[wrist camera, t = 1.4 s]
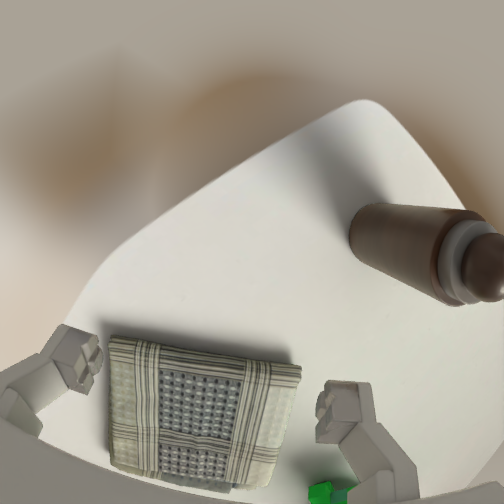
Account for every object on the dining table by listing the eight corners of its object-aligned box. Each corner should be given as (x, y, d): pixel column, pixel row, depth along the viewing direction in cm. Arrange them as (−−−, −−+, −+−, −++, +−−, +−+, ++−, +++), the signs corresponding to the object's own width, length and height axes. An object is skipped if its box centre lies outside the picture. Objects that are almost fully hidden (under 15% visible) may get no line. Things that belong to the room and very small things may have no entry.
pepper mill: (336, 227, 26) (464, 266, 11) (383, 191, 26) (526, 193, 11) (368, 278, 27) (492, 352, 12) (411, 241, 27) (547, 281, 12)
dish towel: (109, 326, 26) (97, 341, 23) (302, 360, 28) (310, 377, 25) (112, 460, 29) (106, 478, 26) (259, 483, 31) (262, 502, 28)
